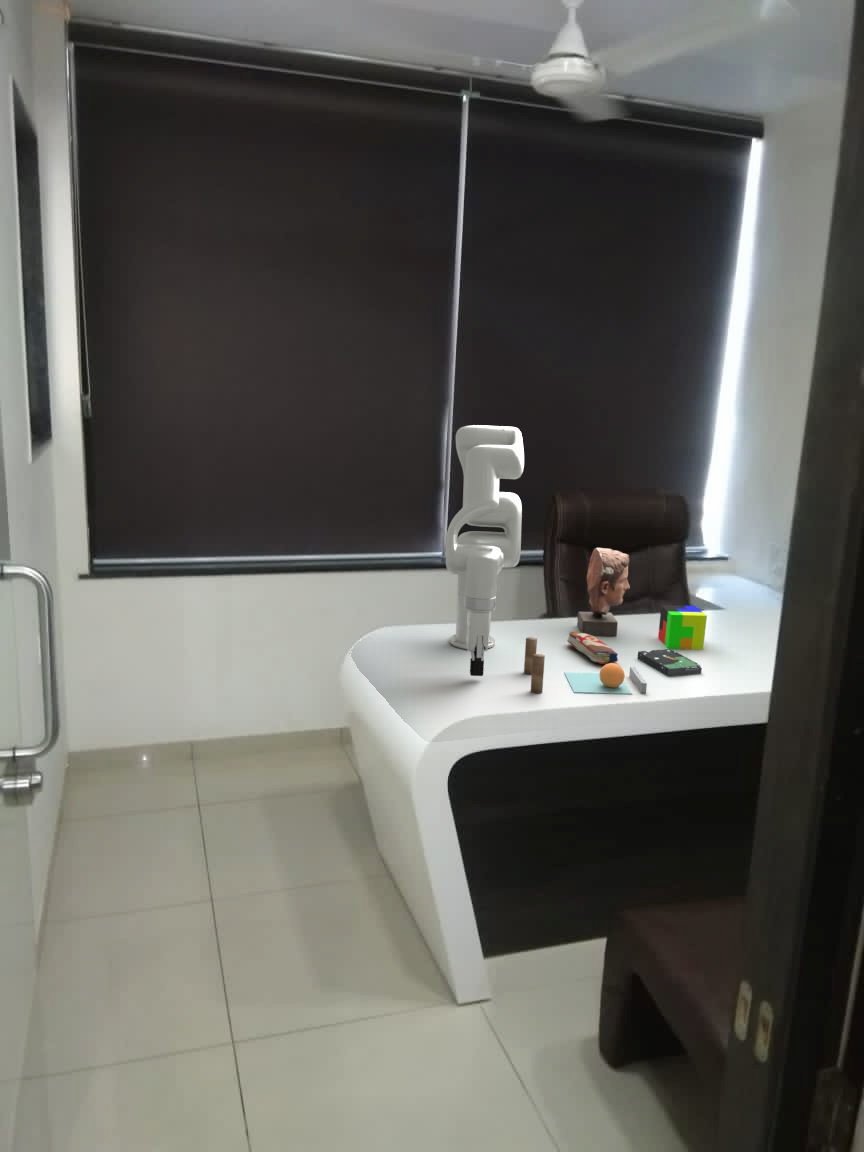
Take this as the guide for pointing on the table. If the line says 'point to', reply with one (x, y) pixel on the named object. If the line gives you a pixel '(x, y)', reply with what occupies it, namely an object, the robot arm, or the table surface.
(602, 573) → the bust
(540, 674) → the post
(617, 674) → the ball
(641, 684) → the stopper strip
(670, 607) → the puzzle toy
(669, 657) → the disk drive
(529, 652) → the post
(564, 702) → the table surface
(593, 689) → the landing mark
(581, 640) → the pencil case
